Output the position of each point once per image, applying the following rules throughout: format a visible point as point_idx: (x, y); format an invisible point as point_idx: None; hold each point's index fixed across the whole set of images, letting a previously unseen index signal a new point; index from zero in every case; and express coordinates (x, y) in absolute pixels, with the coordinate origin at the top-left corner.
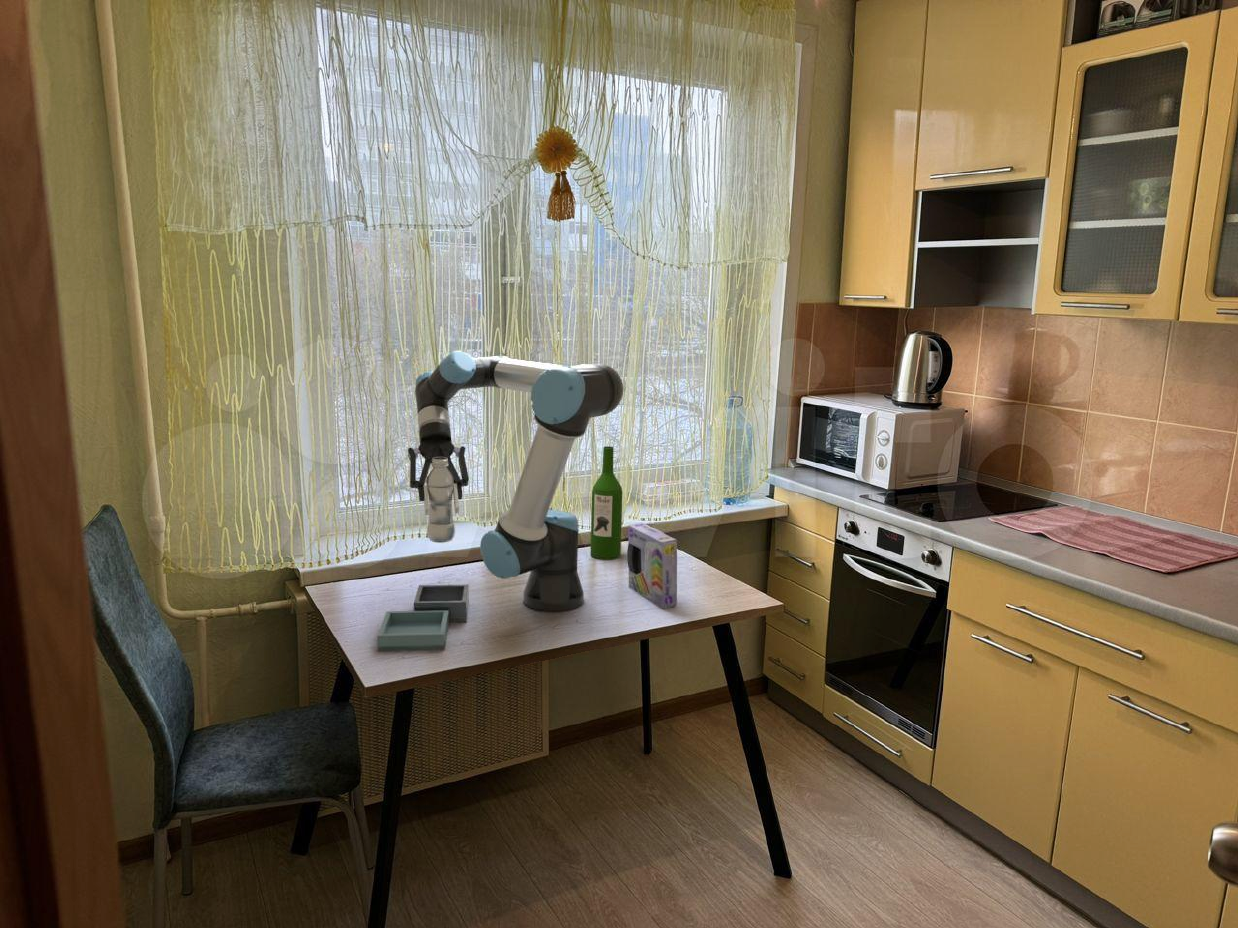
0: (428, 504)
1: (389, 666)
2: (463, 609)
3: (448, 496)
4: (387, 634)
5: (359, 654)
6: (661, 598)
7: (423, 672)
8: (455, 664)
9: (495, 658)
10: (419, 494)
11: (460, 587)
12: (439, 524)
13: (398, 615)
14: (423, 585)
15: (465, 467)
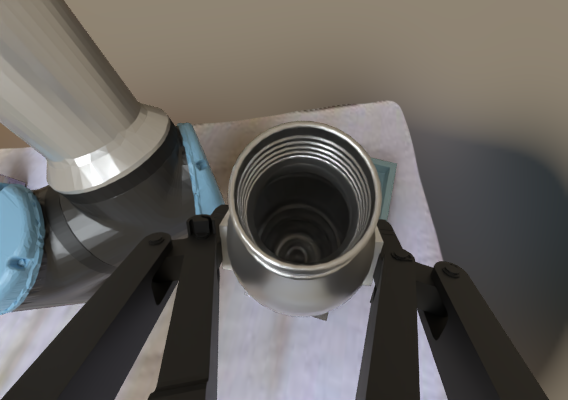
0: None
1: (378, 132)
2: None
3: (274, 199)
4: (384, 163)
5: (410, 169)
6: (12, 180)
7: (344, 110)
8: (310, 118)
9: (267, 119)
10: (391, 228)
11: None
12: (307, 220)
13: None
14: (319, 316)
15: (99, 298)
